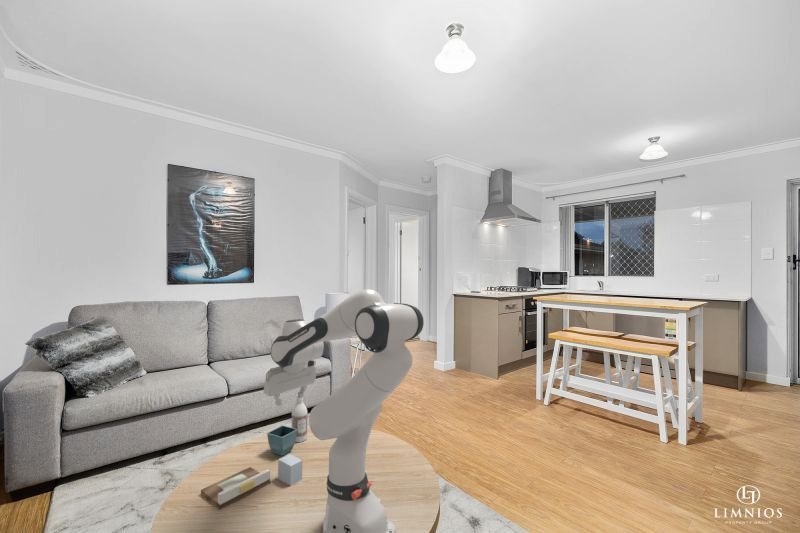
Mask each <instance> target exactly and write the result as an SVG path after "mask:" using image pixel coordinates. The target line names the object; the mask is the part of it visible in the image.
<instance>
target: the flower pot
mask: <svg viewBox="0 0 800 533" xmlns="http://www.w3.org/2000/svg"><path fill="white" fill-rule="evenodd" d="M291 427H292V426H291ZM291 427H290V426H287V425H280V426H279V427H277V428H274V429H272V430H270V431H268V432H267V433H266V434H267V441H268V447H269V448H270V450H271V451H272V453H273V454H275V455H278V456H281V457H284V456H286V454H288V453H290V452H291V451H292V449H293V448H294V446H295V444H296V442H295V441H296V434H297V429H295V428H291Z"/></svg>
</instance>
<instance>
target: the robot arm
mask: <svg viewBox="0 0 800 533" xmlns="http://www.w3.org/2000/svg"><path fill="white" fill-rule="evenodd" d="M307 322H308V321H307V320H305V319H303V318H301V319H300V318H299V319H290V320H286V321H284V323H283V326H282V330H281V335H279V336H277V337H276V339H274V341H273V342H272V344H271V346H270V357H271V359H272V361H273V362H274V363H275V364H276V365H278V366H276V367H272V368H270V369H269V370H268V371H267V372H266V374H265V380H264V386H263V393H264V394H265V395H266V396H269V397H273V398H274V400H275V405H276V406H277V407H279V406H281V405H283V399H281V398H279V397H281V394H283V393H287V392H291V391H292V390H296V389H299V388H300V390H299V392H297V394H296V397H298V398H302V397H303V398H304V394H305V392H306V390H307V387H308V386H309V385H312V384H314V383H315V381H316V379H317V377H316V376H317V369H316V368H317V367H316V365H317V361H316V360H317V359H321V357H322V356H323V355H324V353H325V350H326V342H328V341H334V340H341V339H349V338H351V337H353V336H356V335H357V337H358V339H359V340H360V341H361V343H362V344H363V345H364V347H365V349H366V350H367V351H370V352H371V353H372V355H371V356H370V357H369V358H368V359H367V361H365V363H364V364H363V365H362V366H361V368H360V369H359V370H357V372H356V373H355V374H354V376H352V377H351V379H349V380H348V381H347V382H345V383H343V384H342V385H341V386H340V387H339V388H338V389H336V390H335V391H333V392H332V394H330V395H329V396H328V397H326V398H325V399H324V400H323V401H321V402H320V403H318V404H317V405H315V406H314V407H313V408H312V409H311V411H310V413H309V415H308V416H309V417H308V426H309V429H310V431H311V433H312V434H313V435H314V437H315V438H316V439H318V440H320V441H327V440H332V439H334V442H333V443H332V445H331V446H330V448H329V453H328V475H327V477H326V491H327V498H326V505H325V513H324V517H323V520H322V533H396V526H395V524H394V523H393V522H392V521H390V520H389V519H388V514H387V510H386V507H385V506H384V505H383V501H382V499H380V497H377V496H376V495H375V492H373V491H372V490H371V487H372V485H373V483H372V482H373V480H370V481H369V479H368V478H369V477H368V474H367V472H366V459H367V458H366V455H367V446H368V444H369V443H368V442H369V438H370V436H371V433H372V429H373V427H374V425H375V422H376V420H377V418H378V417H379V415H380V414H381V412H382V411H383V410H382V409H383V402H384V401H385V400H386V399H387V398H388V397H389V396H390V395H391V394H393V392H394V391H395V390H396V389H397V387H399V385H400V384H401V383H403V380H404V379H405V377H406V376H407V375H408V373H409V372H410V370H411V368H412V365H413V355H412V353H411V351H410V349H409V348H408V347H407V346H406V344H405V343H406V341H411V340H413V339H414V338H416V337H418V336H419V335H420V334H421V333H422V331H423V328H424V324H425V323H424V322H425V321H424V316H423V314H422V312H421V311H420V309H419V308H418V307H416V306H414V305H411V304H408V303H399V302H393V303H391V302H390V303H387V302H385V301H384V298H383V296H382V295H381V293H380V292H378V291H376V290H375V289H371V288H367V289H362V290H360V291H358V292H356V293H353V294H352V295H350V296H348V297H347V298H345V299H344V300H343V301H341V302H340V303H338V304H337V305H335V306H334V307H332V308H331V309H330V310H328V311H327V312H325V313H324V314H322V315H320V316H319V317H317V318H316V319H314V320H312V321H310V322H308V323H307Z"/></svg>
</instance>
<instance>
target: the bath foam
mask: <svg viewBox="0 0 800 533" xmlns="http://www.w3.org/2000/svg"><path fill="white" fill-rule="evenodd" d="M295 399H296V400H295V401H296V403H295V404H294V406H293V408H292V410H291V428H295V429H297V434H296V441H295V443H301V442H305V441H306V440H307V438H308V415H309V414H308V408H307V407H306V404H305V403H304V397H302V398H298V397H297V396H296V398H295Z"/></svg>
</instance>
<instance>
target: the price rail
mask: <svg viewBox="0 0 800 533" xmlns="http://www.w3.org/2000/svg"><path fill="white" fill-rule="evenodd" d="M269 479H270V480H271V470H270V469H268V468H267V469H265V470H263V471H261V472H259V474H257V475H255V476H253V477H251V478H249V479H247V480H245V481H242V482H240V483H238V484H236V485H234V486H232V487H230V488H228V489H226V490H224V491H222V492H220V493H218V503H219V504H220V505H221V504H223V503H224V502H226V501H228V500H230V499H232V498H234V497H236V496H238V495H240V494H242V493H244V492H246V491H248V490H250V489H252V488H254V487H255V486H257V485H259V484H261V483H263V482H265V481H267V480H269Z"/></svg>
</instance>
